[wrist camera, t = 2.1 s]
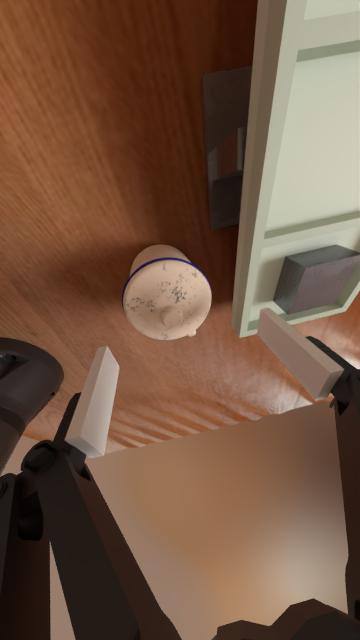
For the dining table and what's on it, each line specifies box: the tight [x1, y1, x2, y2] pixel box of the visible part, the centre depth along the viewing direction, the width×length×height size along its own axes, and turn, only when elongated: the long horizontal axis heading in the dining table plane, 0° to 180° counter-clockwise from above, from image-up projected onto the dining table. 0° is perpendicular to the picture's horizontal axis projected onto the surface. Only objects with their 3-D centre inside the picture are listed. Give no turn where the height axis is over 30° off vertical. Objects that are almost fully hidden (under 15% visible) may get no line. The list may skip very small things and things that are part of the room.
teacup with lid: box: [122, 244, 211, 340], centre depth 20 cm, size 12×9×12 cm
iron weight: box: [273, 244, 360, 315], centre depth 19 cm, size 6×6×3 cm
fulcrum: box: [201, 65, 253, 230], centre depth 16 cm, size 18×12×7 cm, turn 100°
